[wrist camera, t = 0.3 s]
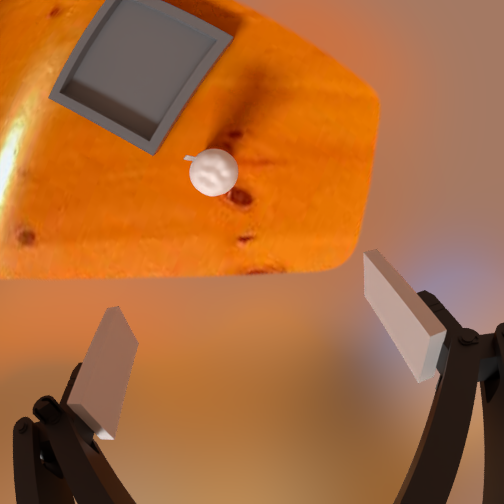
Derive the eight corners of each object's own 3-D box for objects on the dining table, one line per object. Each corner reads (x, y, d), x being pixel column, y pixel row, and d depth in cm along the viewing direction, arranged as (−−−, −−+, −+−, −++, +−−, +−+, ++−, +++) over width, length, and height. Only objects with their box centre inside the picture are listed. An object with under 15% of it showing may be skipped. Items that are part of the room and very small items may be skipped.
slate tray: (57, 97, 29) (48, 97, 27) (124, -11, 24) (118, -17, 22) (157, 152, 34) (153, 155, 32) (232, 41, 29) (233, 37, 27)
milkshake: (206, 128, 34) (200, 135, 25) (242, 155, 36) (249, 172, 27) (183, 158, 35) (169, 177, 26) (219, 184, 37) (218, 211, 28)
